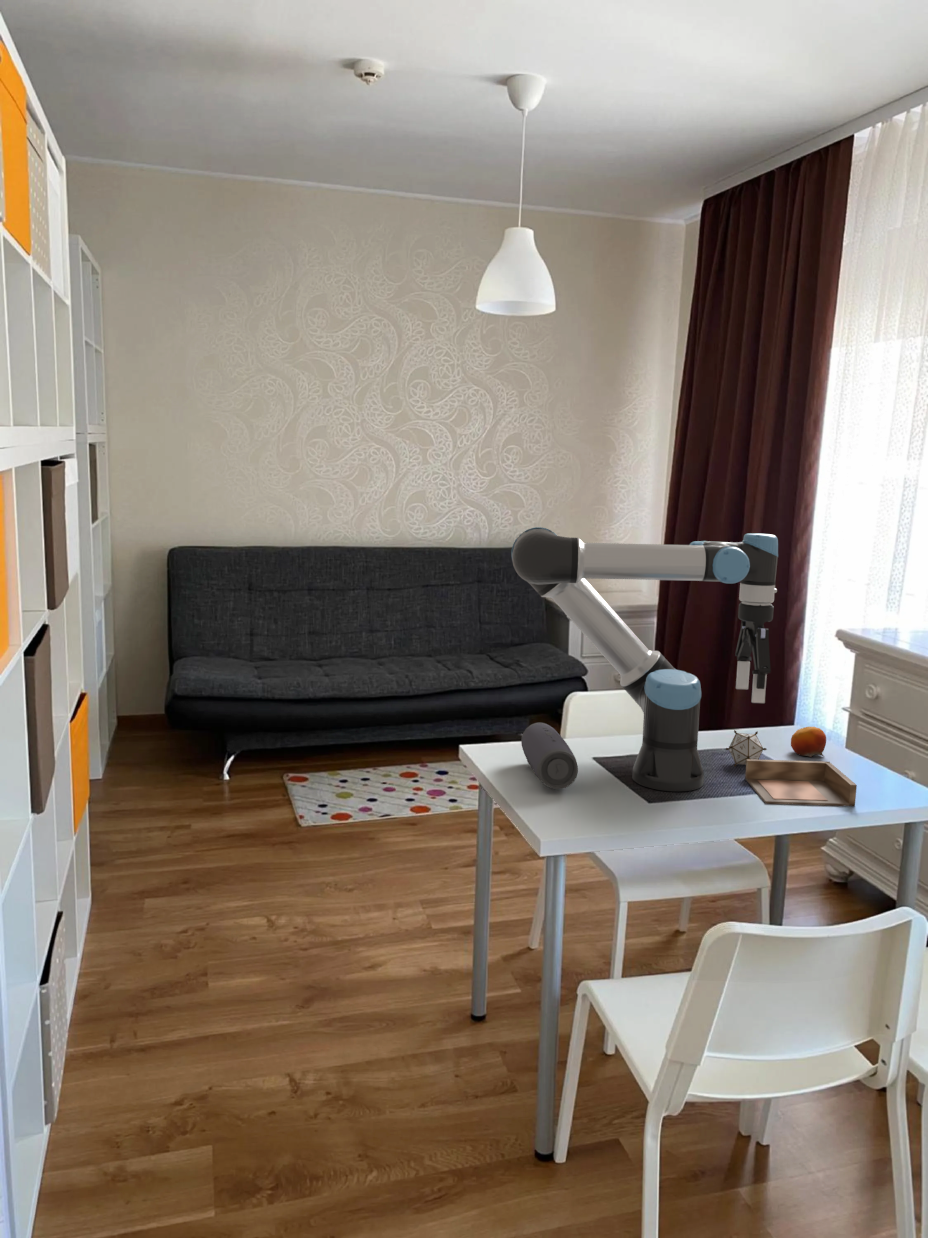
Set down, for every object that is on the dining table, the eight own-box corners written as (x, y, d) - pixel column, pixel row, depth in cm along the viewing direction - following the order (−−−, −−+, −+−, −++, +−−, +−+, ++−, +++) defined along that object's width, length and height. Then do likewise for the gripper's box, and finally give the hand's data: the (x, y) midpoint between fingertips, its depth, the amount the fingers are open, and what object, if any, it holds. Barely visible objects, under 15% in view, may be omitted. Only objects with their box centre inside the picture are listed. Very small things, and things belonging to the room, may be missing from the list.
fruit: (815, 757, 226) (803, 724, 229) (791, 766, 233) (781, 734, 235) (839, 753, 230) (828, 720, 232) (816, 762, 236) (805, 730, 239)
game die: (748, 784, 221) (755, 758, 214) (716, 764, 226) (721, 738, 218) (768, 759, 226) (776, 733, 219) (736, 740, 230) (743, 714, 223)
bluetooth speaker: (580, 795, 200) (582, 748, 198) (535, 795, 199) (537, 748, 197) (558, 762, 222) (560, 720, 221) (518, 762, 221) (519, 720, 220)
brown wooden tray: (765, 803, 197) (767, 782, 196) (745, 779, 213) (746, 759, 212) (854, 806, 197) (856, 785, 196) (827, 781, 213) (829, 761, 212)
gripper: (790, 611, 205) (782, 709, 208) (757, 596, 229) (751, 684, 232) (754, 610, 205) (747, 708, 208) (726, 595, 229) (720, 683, 233)
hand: (749, 695), depth 220 cm, fingers open, 13 cm apart
